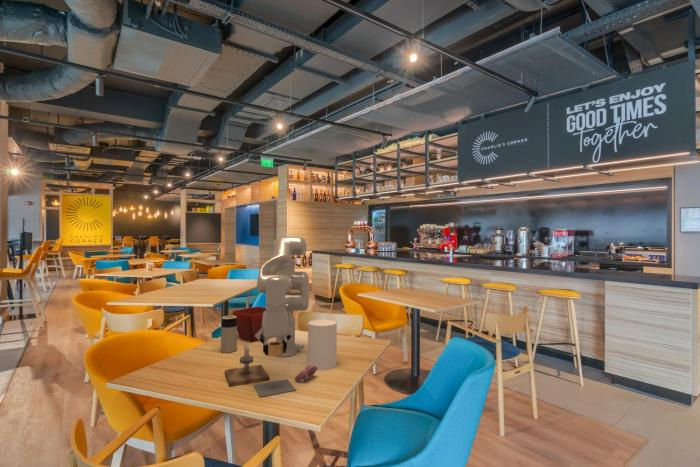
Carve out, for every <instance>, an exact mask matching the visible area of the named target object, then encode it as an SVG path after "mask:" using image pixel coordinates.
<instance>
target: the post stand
mask: <svg viewBox="0 0 700 467" xmlns="http://www.w3.org/2000/svg"><path fill="white" fill-rule="evenodd" d="M243 348H244V349H243V350H244V352H243V354H244V355H243V356H241V357H240V358H239V363H240V364H242V365H244V366H242V367H236V368H229V369H225V370H224V375H225V378H226V381H227V384H228V387H230V388H231V387H237V386H242V385H249V384H257V383H261V382H266V381H268V382H269V381H270V375H269V374H268V372H267V371H266V370H265V368H264V367H263V365H262V364H257V365H250V364H251V363H253V362H254V356H251V355H250V345H244V346H243Z"/></svg>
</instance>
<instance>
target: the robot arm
mask: <svg viewBox="0 0 700 467" xmlns="http://www.w3.org/2000/svg"><path fill="white" fill-rule="evenodd" d="M271 246H272V250H273V251H272V257H271V258H270V259H268V260H267V261H266V262H264V263H263V264H262V266H261V267H260V268H259V270H258V275H257V280H256V288H257V290H258V292H259V293H263V294H265V308H266V311H264V313H263V318H262V328H261V329H260V330H259V331H258V332H257V333H256V335H255V337H256V338H257V339H258V341H259V342H260V343H261V344H262V352H263V354H264V355H265V356H267V355H268V345H267V343H269V342H268V341H269V340H270V339H271V338H275V340H276V341H277V342H282V343H283V344H284V354H283V355H281V356H277V357H280V358H287V357H293V356H295V355H298V353H299V351H298V350H299V349H304V348H305V345H304V344H300V343H296V342H295V341H296V339H295V338H296V319H295V316H294V315H293V313H292V312H300V311H301V312H302V311H307V310H308V309H309V305H310V280H309V279H310V278H309V275H308V273H307V272H305V271H296V270H295V269H296V268H295V266H296V265H295V264H296V263H295V260H294V259H293V256H305V255H306V253H307V249H308V248H307V242H306V238H304V237H302V236H280V237H278V238H277V239H274V240H273V241H272V243H271ZM276 272H277V274H274V273H276ZM272 273H273V274H272ZM291 290H292V291H293V292H292V291H291ZM296 290H297V292H296ZM294 291H295V292H294ZM261 334H262V335H263V336H264V339H262V338H261V337H260V335H261ZM276 341H275V342H276Z"/></svg>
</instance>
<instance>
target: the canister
mask: <svg viewBox="0 0 700 467" xmlns="http://www.w3.org/2000/svg"><path fill="white" fill-rule="evenodd" d="M337 327H338V322H337V321H336V320H333V319H326V318H325V319H323V318H321V319H313V320H310V321H308V323H307V366H309V365H314V366H316V367H317V368H318V369H317V371H325V370H326V371H328V370H331V369H334V368H335V367H336V366H337V350H338V349H337V344H338V343H337V342H338V341H337V340H338V339H337V337H338V335H337V333H338V332H337V329H338V328H337Z"/></svg>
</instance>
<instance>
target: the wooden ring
mask: <svg viewBox="0 0 700 467" xmlns="http://www.w3.org/2000/svg"><path fill="white" fill-rule="evenodd" d="M267 345H268V355H266V356H268V357H278V356H281V355H283V354H284V344H283V343H282V342H277V341H269V342H267Z"/></svg>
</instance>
